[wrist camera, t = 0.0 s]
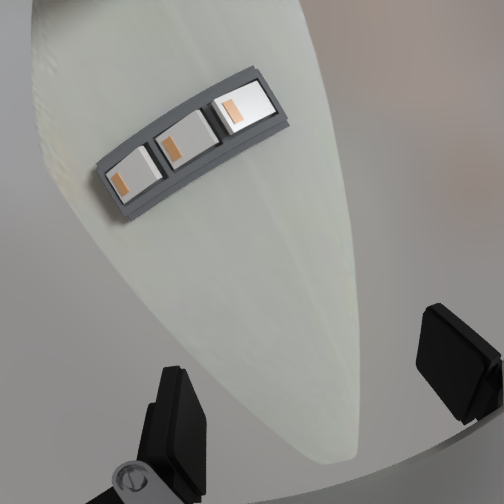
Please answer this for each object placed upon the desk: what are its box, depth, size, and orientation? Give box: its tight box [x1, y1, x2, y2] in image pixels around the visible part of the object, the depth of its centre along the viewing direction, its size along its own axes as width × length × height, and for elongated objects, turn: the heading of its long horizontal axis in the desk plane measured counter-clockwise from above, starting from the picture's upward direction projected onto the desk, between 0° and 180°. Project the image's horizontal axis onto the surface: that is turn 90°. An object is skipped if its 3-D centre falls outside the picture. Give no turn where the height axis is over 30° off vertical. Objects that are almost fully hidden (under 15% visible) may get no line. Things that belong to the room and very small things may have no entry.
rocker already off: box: [211, 81, 276, 135], centre depth 31 cm, size 6×4×1 cm
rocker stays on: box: [106, 146, 162, 204], centre depth 33 cm, size 6×4×1 cm
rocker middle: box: [156, 110, 219, 170], centre depth 32 cm, size 6×4×1 cm
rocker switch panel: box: [96, 66, 290, 221], centre depth 35 cm, size 23×9×4 cm, turn 120°
